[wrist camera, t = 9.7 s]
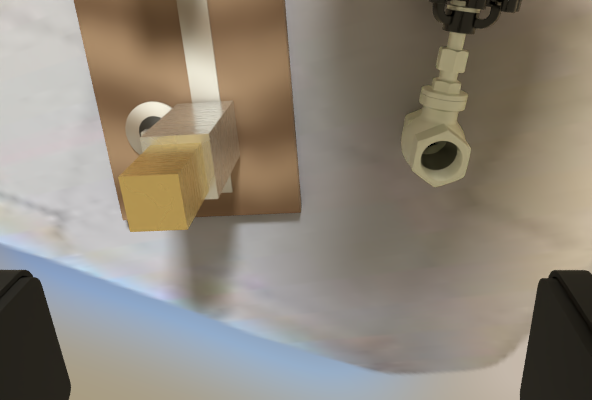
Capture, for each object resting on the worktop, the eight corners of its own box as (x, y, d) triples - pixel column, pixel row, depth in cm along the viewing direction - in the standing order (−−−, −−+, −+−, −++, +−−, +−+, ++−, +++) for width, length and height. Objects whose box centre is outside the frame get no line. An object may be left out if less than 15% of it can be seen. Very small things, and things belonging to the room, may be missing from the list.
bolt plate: (27, -248, 32) (-90, -327, 23) (262, -278, 31) (232, -373, 22) (128, 213, 44) (75, 277, 35) (301, 206, 43) (292, 270, 34)
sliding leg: (143, 106, 39) (58, 170, 27) (233, 100, 38) (186, 163, 26) (154, 159, 40) (77, 242, 28) (240, 155, 40) (198, 237, 28)
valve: (463, 163, 41) (507, -9, 36) (486, 198, 35) (542, -3, 30) (375, 151, 41) (407, -22, 36) (382, 184, 35) (421, -18, 30)
